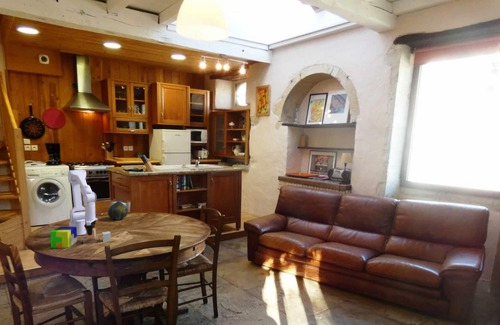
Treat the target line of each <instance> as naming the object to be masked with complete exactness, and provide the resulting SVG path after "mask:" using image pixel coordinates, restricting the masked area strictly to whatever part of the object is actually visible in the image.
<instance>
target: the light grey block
mask: <svg viewBox="0 0 500 325" xmlns="http://www.w3.org/2000/svg"><path fill="white" fill-rule="evenodd" d="M101 241H102V242H103V243H107V242H111V241H112V234H111V231H110V230H109V231H103V232H101Z"/></svg>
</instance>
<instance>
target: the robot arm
mask: <svg viewBox="0 0 500 325" xmlns="http://www.w3.org/2000/svg"><path fill="white" fill-rule="evenodd" d="M67 172H68V173H67V180H68V183H69V184H71V189H72V198H73V200H72V201H73V207H72V208H71V209H70V210H69V220H70V221H69V223H68V227H77V236H81V235H82V236H84V235H85V236H86V231H87V234H88V235H92V231H93V228H96V227H95V226H96V222H97V221H98V218H97V217H96V202H97V194H96V193H95V192H94V191H92V189H91V186H90V185H89V184H87V180H86V178H87V171H86V170H85V169H76V170H70V169H69V170H68V171H67ZM82 201H83V202H82Z"/></svg>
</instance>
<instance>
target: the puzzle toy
mask: <svg viewBox="0 0 500 325" xmlns="http://www.w3.org/2000/svg"><path fill="white" fill-rule="evenodd" d="M76 243H78V235H77V227H69V226H59V227H57V228H55V229H53V230H50V247H51V249H56V248H57V249H59V248H60V249H64V248H65V249H66V248H67V249H68V248H70V247H72V246H73V245H75V244H76Z"/></svg>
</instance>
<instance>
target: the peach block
mask: <svg viewBox="0 0 500 325" xmlns="http://www.w3.org/2000/svg"><path fill="white" fill-rule="evenodd" d="M85 231H86V234H85V236H87V239H89V238H95V236H96V235H97V234H96V227H94V228H93V231H92V235H88V234H87V230H85Z"/></svg>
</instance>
